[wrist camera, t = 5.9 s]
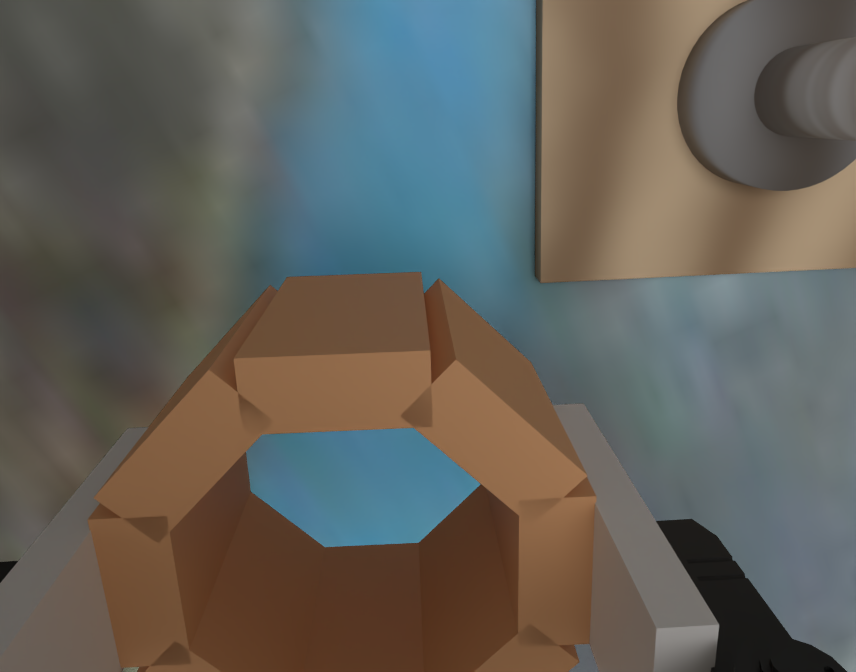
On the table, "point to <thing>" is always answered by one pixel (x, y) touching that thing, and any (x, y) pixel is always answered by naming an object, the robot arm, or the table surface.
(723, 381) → the table surface
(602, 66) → the post board
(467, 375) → the ring
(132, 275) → the table surface
